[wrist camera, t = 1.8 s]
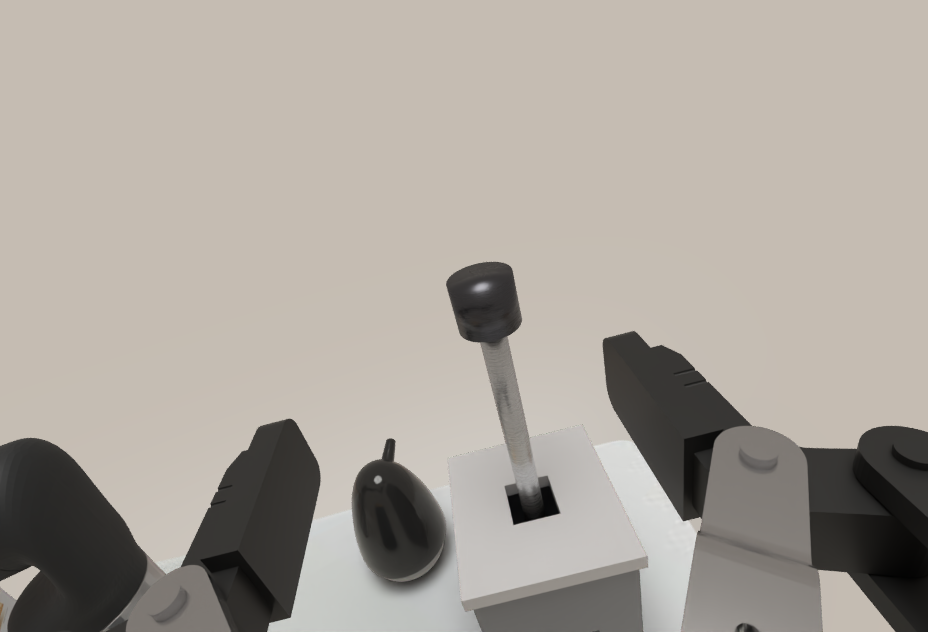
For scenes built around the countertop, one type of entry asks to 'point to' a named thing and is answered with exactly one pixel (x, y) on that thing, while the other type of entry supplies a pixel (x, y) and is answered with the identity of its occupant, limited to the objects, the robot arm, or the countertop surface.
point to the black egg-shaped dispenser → (396, 519)
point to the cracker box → (5, 609)
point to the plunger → (499, 362)
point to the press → (545, 542)
